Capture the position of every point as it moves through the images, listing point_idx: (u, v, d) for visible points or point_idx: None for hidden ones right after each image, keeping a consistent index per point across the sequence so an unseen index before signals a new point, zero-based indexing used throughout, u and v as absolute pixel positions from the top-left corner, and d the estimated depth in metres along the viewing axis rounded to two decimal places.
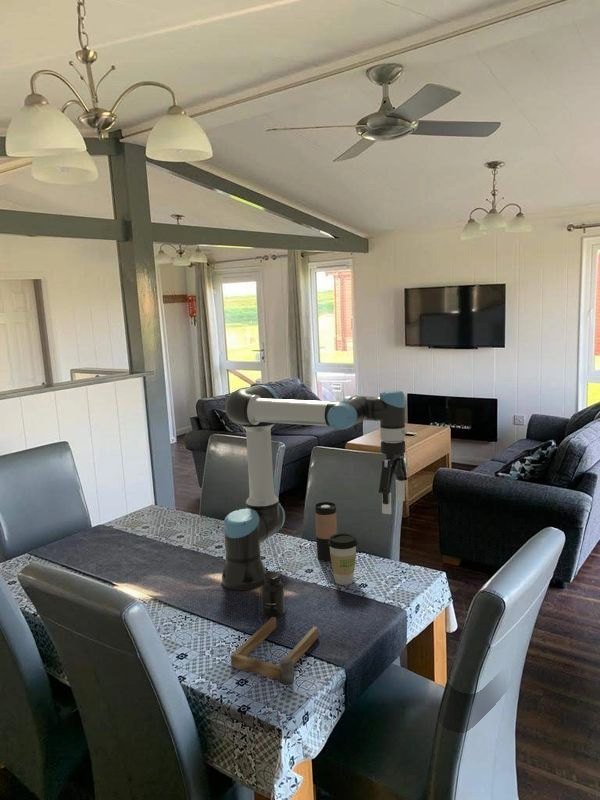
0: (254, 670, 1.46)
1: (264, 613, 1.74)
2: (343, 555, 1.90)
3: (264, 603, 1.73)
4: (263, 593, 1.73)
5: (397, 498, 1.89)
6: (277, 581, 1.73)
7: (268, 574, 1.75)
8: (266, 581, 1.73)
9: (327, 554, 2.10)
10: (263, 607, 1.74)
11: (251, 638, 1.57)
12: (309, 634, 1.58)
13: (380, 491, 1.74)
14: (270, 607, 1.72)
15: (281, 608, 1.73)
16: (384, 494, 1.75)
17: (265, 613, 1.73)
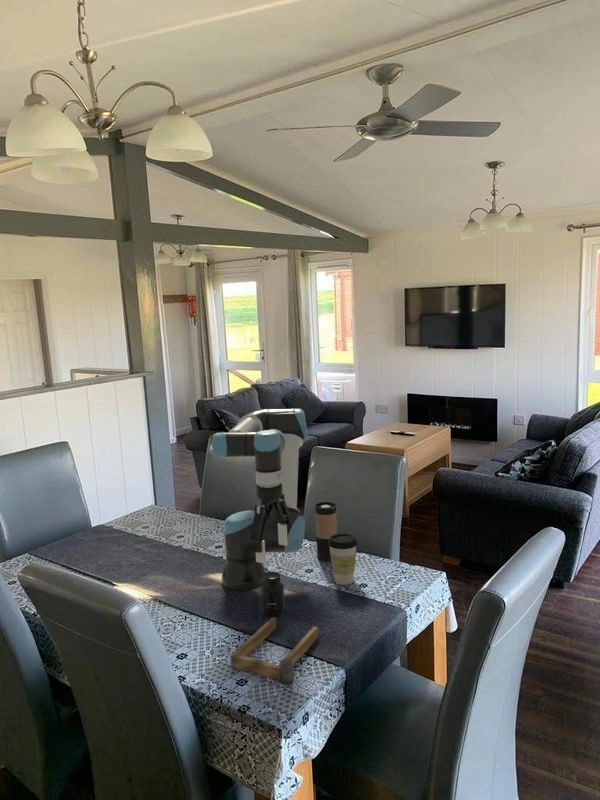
0: (254, 670, 1.46)
1: (264, 613, 1.74)
2: (343, 555, 1.90)
3: (264, 603, 1.73)
4: (263, 593, 1.73)
5: (280, 542, 1.79)
6: (277, 581, 1.73)
7: (268, 574, 1.75)
8: (266, 581, 1.73)
9: (327, 553, 2.10)
10: (263, 607, 1.74)
11: (251, 638, 1.57)
12: (309, 634, 1.58)
13: (251, 539, 1.64)
14: (270, 607, 1.72)
15: (281, 608, 1.73)
16: (256, 542, 1.65)
17: (265, 613, 1.73)
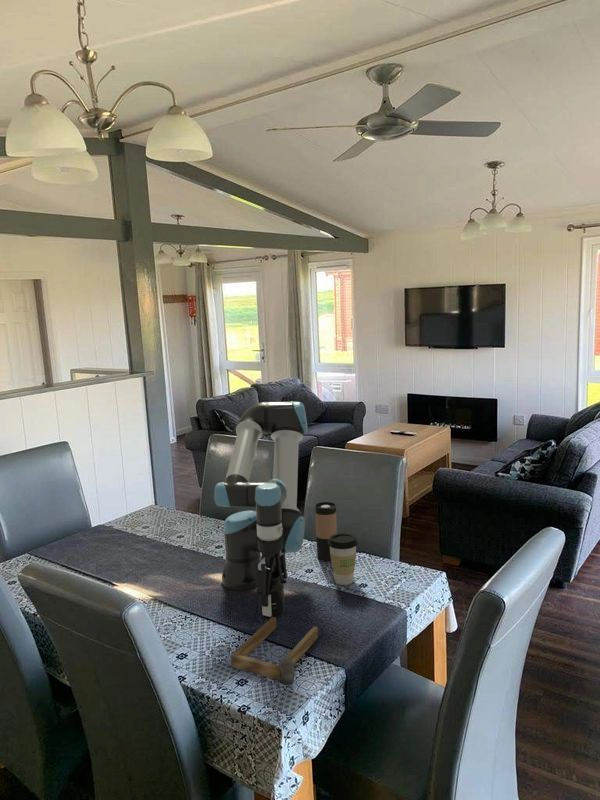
0: (254, 670, 1.46)
1: None
2: (343, 555, 1.90)
3: None
4: None
5: None
6: (277, 581, 1.73)
7: None
8: None
9: (327, 554, 2.10)
10: None
11: (251, 638, 1.57)
12: (309, 634, 1.58)
13: (258, 594, 1.69)
14: None
15: (281, 608, 1.73)
16: (263, 597, 1.70)
17: None
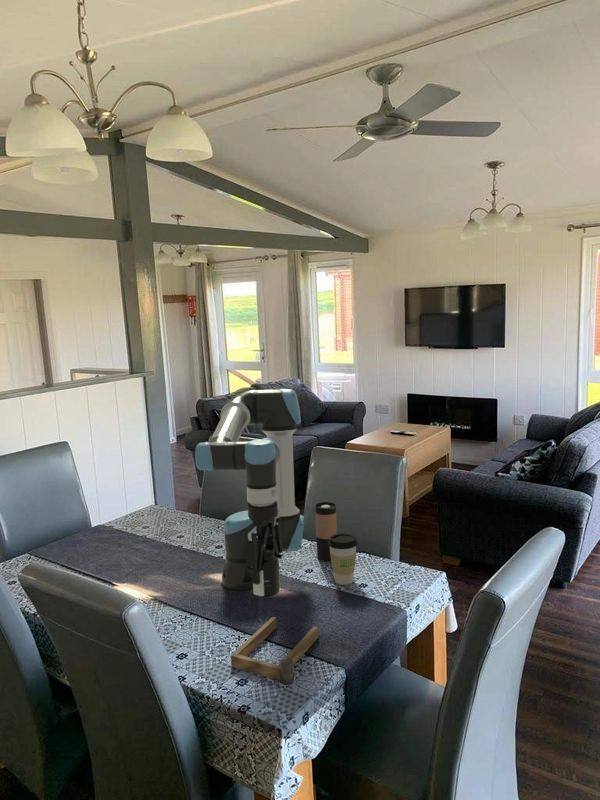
0: (254, 670, 1.46)
1: None
2: (343, 555, 1.90)
3: None
4: None
5: None
6: (271, 554, 1.47)
7: None
8: None
9: (327, 553, 2.10)
10: None
11: (251, 638, 1.57)
12: (309, 634, 1.58)
13: (248, 569, 1.43)
14: None
15: (275, 586, 1.48)
16: (254, 572, 1.44)
17: None
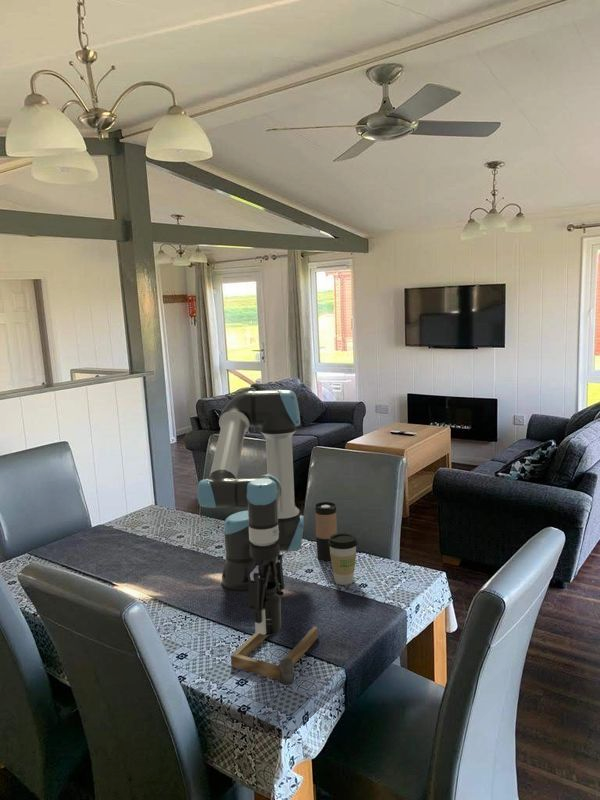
0: (254, 670, 1.46)
1: None
2: (343, 555, 1.90)
3: None
4: None
5: None
6: (273, 593, 1.48)
7: None
8: None
9: (327, 553, 2.10)
10: None
11: (251, 638, 1.57)
12: (309, 634, 1.58)
13: (250, 609, 1.44)
14: None
15: (277, 624, 1.49)
16: (256, 611, 1.45)
17: None
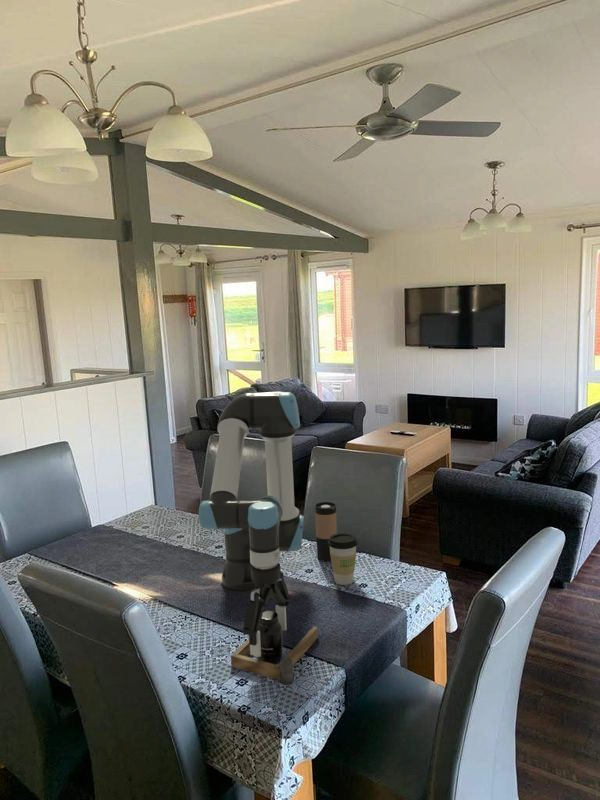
0: (254, 670, 1.46)
1: (259, 659, 1.50)
2: (343, 555, 1.90)
3: None
4: None
5: None
6: (274, 622, 1.49)
7: (264, 614, 1.51)
8: (261, 622, 1.49)
9: (327, 554, 2.10)
10: None
11: None
12: (309, 634, 1.58)
13: (244, 631, 1.42)
14: (266, 653, 1.49)
15: (279, 654, 1.50)
16: (250, 634, 1.44)
17: (260, 659, 1.50)
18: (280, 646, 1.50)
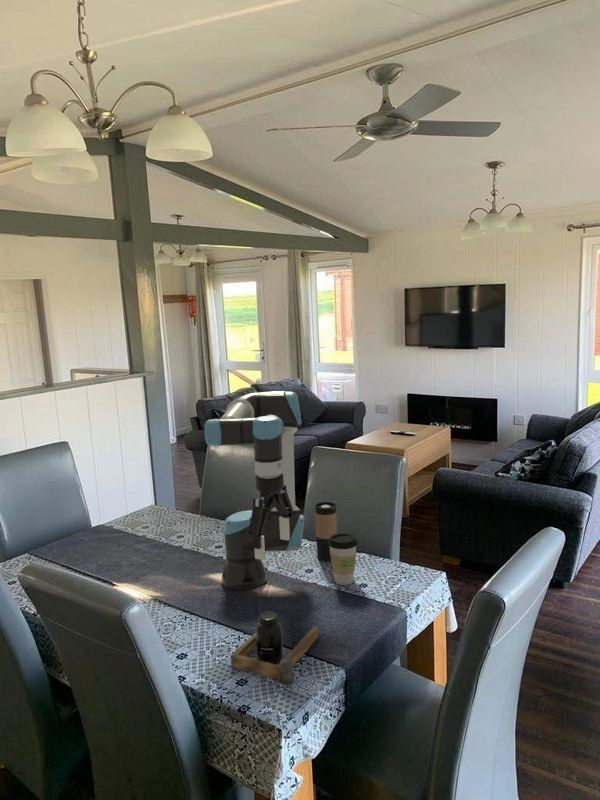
0: (254, 670, 1.46)
1: (259, 659, 1.50)
2: (343, 555, 1.90)
3: (259, 648, 1.50)
4: (258, 636, 1.49)
5: (281, 537, 1.66)
6: (274, 622, 1.49)
7: (264, 614, 1.51)
8: (261, 622, 1.49)
9: (327, 553, 2.10)
10: (258, 652, 1.50)
11: (251, 638, 1.57)
12: (309, 634, 1.58)
13: (249, 535, 1.51)
14: (266, 653, 1.49)
15: (279, 654, 1.50)
16: (255, 538, 1.52)
17: (260, 659, 1.50)
18: (280, 646, 1.50)
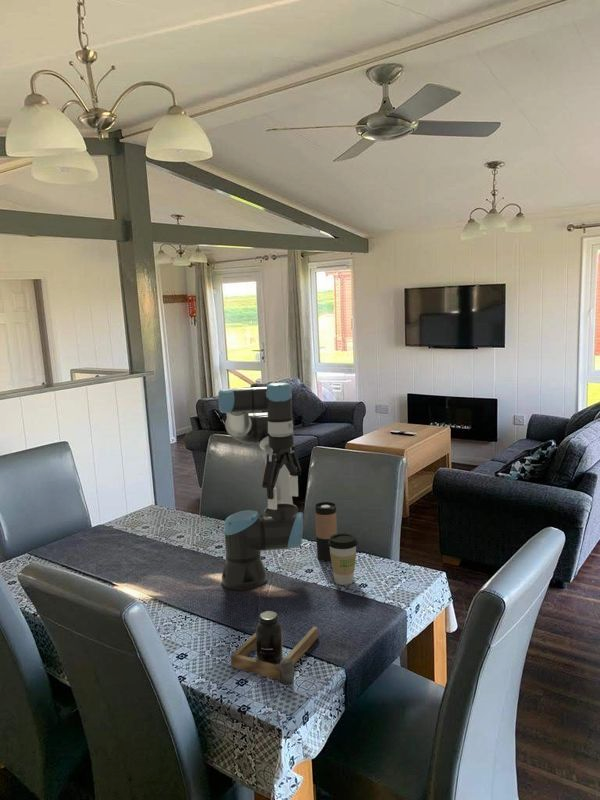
0: (254, 670, 1.46)
1: (259, 659, 1.50)
2: (343, 555, 1.90)
3: (259, 648, 1.50)
4: (258, 636, 1.49)
5: (291, 493, 1.85)
6: (274, 622, 1.49)
7: (264, 614, 1.51)
8: (261, 622, 1.49)
9: (327, 554, 2.10)
10: (258, 652, 1.50)
11: (251, 638, 1.57)
12: (309, 634, 1.58)
13: (263, 486, 1.70)
14: (266, 653, 1.49)
15: (279, 654, 1.50)
16: (268, 489, 1.71)
17: (260, 659, 1.50)
18: (280, 646, 1.50)
